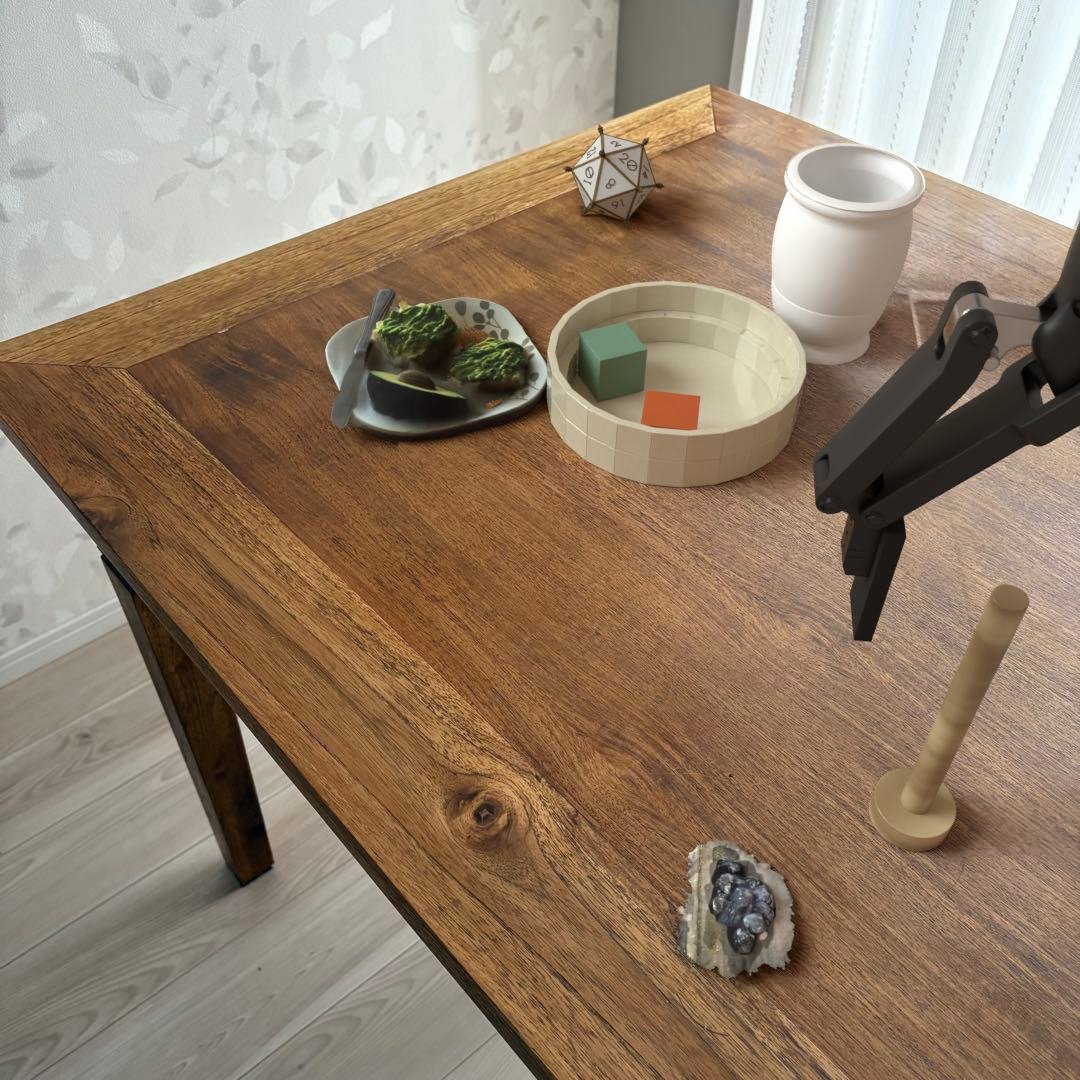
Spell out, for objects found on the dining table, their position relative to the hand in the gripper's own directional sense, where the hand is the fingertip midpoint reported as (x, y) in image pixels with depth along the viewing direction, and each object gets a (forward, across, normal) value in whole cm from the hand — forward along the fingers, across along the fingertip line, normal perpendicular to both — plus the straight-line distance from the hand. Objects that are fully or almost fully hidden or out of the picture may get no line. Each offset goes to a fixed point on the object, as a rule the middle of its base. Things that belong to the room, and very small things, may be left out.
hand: (1019, 633), depth 48 cm
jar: (+18, -3, +47) cm, 50 cm away
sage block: (+18, -20, +38) cm, 46 cm away
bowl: (+18, -15, +36) cm, 43 cm away
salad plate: (+18, -34, +37) cm, 53 cm away
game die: (+18, -22, +65) cm, 71 cm away
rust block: (+18, -15, +30) cm, 38 cm away
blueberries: (+18, -10, -5) cm, 21 cm away
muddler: (+18, 0, +1) cm, 18 cm away
